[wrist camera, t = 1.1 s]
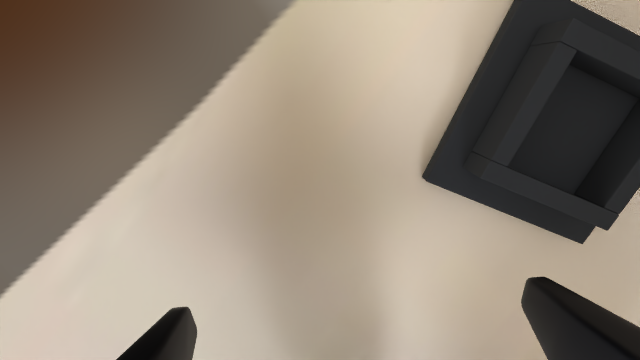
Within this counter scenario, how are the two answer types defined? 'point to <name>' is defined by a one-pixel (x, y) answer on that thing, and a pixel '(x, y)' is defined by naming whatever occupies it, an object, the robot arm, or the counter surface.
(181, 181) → the counter surface
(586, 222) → the socket pad
